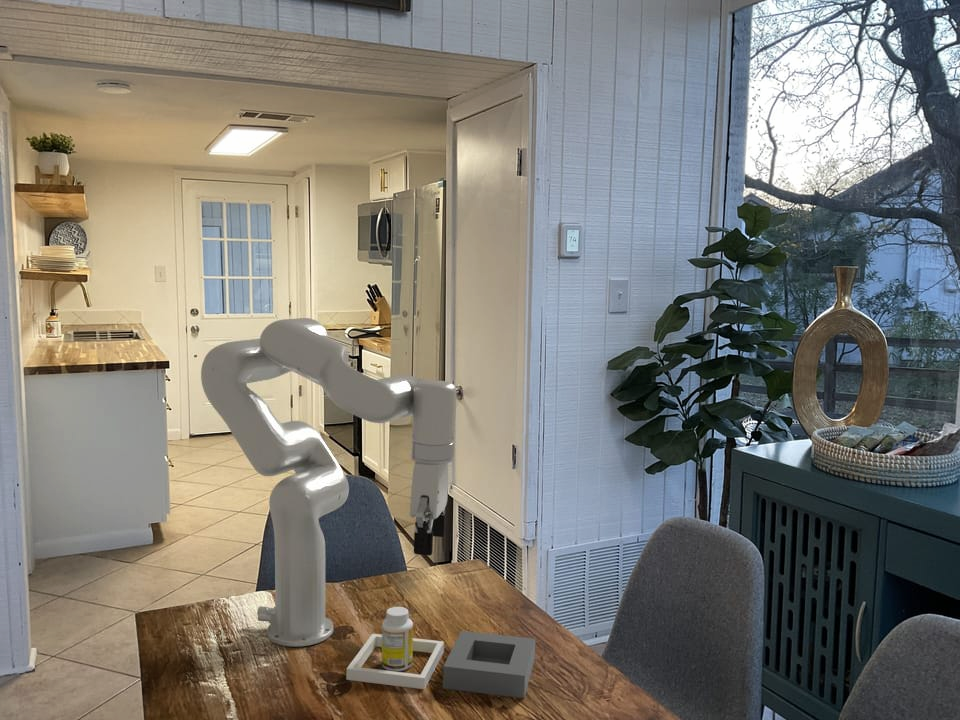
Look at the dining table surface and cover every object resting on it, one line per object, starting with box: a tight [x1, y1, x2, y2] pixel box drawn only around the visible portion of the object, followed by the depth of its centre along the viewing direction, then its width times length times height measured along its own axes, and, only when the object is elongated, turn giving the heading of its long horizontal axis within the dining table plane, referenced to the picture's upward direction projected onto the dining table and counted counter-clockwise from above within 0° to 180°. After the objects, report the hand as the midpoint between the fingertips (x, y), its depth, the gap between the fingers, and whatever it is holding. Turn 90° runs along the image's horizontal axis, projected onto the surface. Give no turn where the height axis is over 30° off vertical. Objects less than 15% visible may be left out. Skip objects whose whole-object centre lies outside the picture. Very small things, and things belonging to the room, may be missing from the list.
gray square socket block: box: [442, 630, 536, 699], centre depth 143 cm, size 14×14×4 cm
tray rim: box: [346, 633, 445, 690], centre depth 146 cm, size 14×14×2 cm
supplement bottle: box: [381, 606, 414, 672], centre depth 145 cm, size 6×6×10 cm
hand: (429, 544), depth 144 cm, fingers open, 9 cm apart
